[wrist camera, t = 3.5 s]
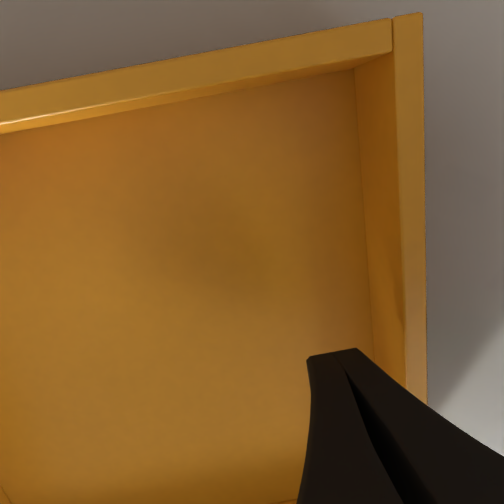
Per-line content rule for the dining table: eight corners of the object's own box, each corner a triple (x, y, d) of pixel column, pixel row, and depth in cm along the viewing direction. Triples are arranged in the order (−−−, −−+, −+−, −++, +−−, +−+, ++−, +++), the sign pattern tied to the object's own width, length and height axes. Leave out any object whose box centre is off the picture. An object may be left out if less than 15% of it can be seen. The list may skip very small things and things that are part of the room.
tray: (367, 42, 10) (424, 10, 7) (392, 479, 15) (430, 560, 12) (-196, 148, 10) (-370, 158, 7) (33, 544, 15) (-11, 640, 12)
